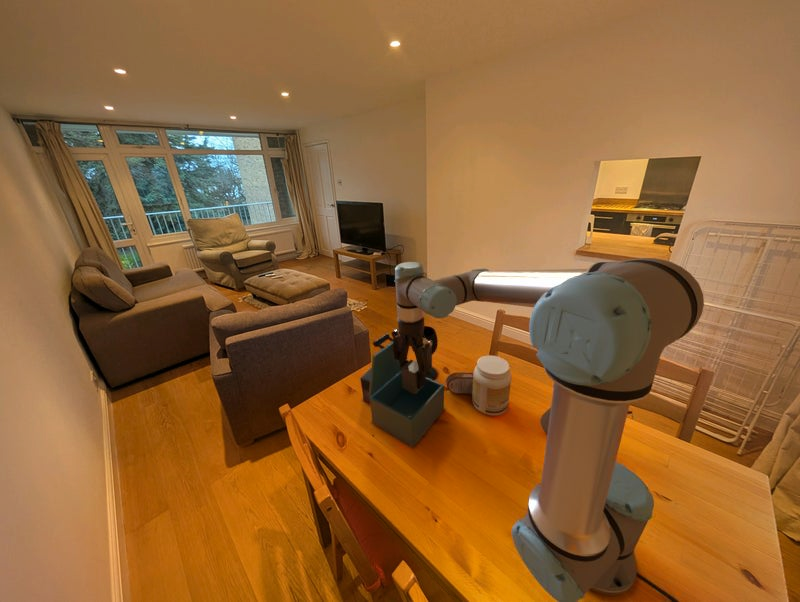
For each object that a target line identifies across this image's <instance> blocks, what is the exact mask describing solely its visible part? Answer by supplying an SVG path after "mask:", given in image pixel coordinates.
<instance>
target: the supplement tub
mask: <svg viewBox="0 0 800 602" xmlns="http://www.w3.org/2000/svg"><path fill="white" fill-rule="evenodd" d="M510 367H511V366H510V364H509V362H508V361H507V360H506V359H505V358H503V357H500V356H498V355H484V356H481V357H479V358H478V359H477V361H476V366H475V367H474V368H473V369H474V370H473V372H472V373H473V390H472V394H471V401H472V404H473V406H474V408H475V409H477V411H479V412H480V413H482V414H484V415H488V416H499V415H503V414H504V413H506V412H507V410H508V408H509V402H510V395H511V394H510V393H511V385H512V373H511V370H510V369H511V368H510Z"/></svg>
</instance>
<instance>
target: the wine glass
mask: <svg viewBox="0 0 800 602" xmlns="http://www.w3.org/2000/svg"><path fill="white" fill-rule="evenodd" d="M423 333H424V336H425V339H427V340H428V341H430V340H432V341H433V345H432V356H433V355H434V354H435V353H436V352H437V349H438V343H439V342H438V341H439V340H438V335H437V332H436V329H435V328H433V327H432V326H428V325H424V332H423ZM422 345H423V342H422ZM423 346H424V345H423ZM422 349H423V353H424V347H422ZM411 350H412V351H413V349H412V348H411ZM413 353H414V354H415V352H414V351H413ZM426 377H427V378H429V379H431V380H434V381H435V380H436V379H437V377H438V371H437V369H436V368H435V367H433V366H432V368H431V369H430V370H429V371H428V372H426Z"/></svg>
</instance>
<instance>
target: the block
mask: <svg viewBox="0 0 800 602" xmlns="http://www.w3.org/2000/svg"><path fill="white" fill-rule="evenodd" d="M408 361H409V362H407V363H406V364H405V365H404V366H403V367H402V368H401V370H402V387H403V389H405V390H407V391H409V392H411V393H413V394H416V393H417V392H418V391H419V390H420V389H421V388H422V387H423V386H424V385H423V386H422V387H421V388H420V389H418V388H417V370H418V369H419V368H418V364H417V361H416V360H413V359H410V360H408Z"/></svg>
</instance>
